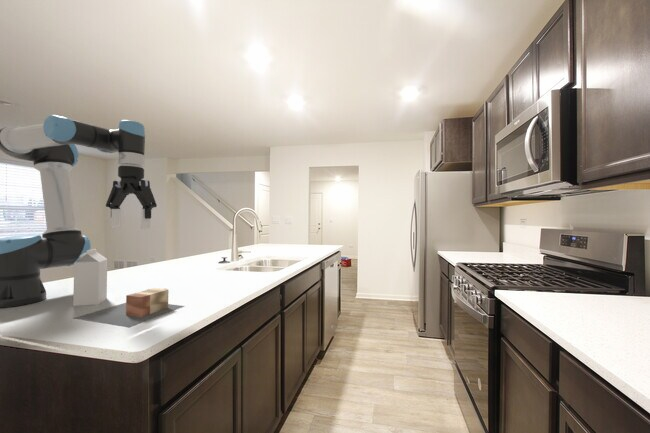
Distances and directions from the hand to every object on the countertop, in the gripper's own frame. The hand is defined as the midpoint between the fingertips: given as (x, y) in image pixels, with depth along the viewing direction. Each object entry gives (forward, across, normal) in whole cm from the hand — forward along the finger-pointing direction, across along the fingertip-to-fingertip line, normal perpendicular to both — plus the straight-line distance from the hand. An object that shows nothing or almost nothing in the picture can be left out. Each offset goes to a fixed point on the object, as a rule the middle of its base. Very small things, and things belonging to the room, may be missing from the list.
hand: (130, 228), depth 100 cm
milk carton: (+27, -14, -3) cm, 30 cm away
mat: (+27, +9, -6) cm, 29 cm away
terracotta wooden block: (+26, +13, -4) cm, 29 cm away
